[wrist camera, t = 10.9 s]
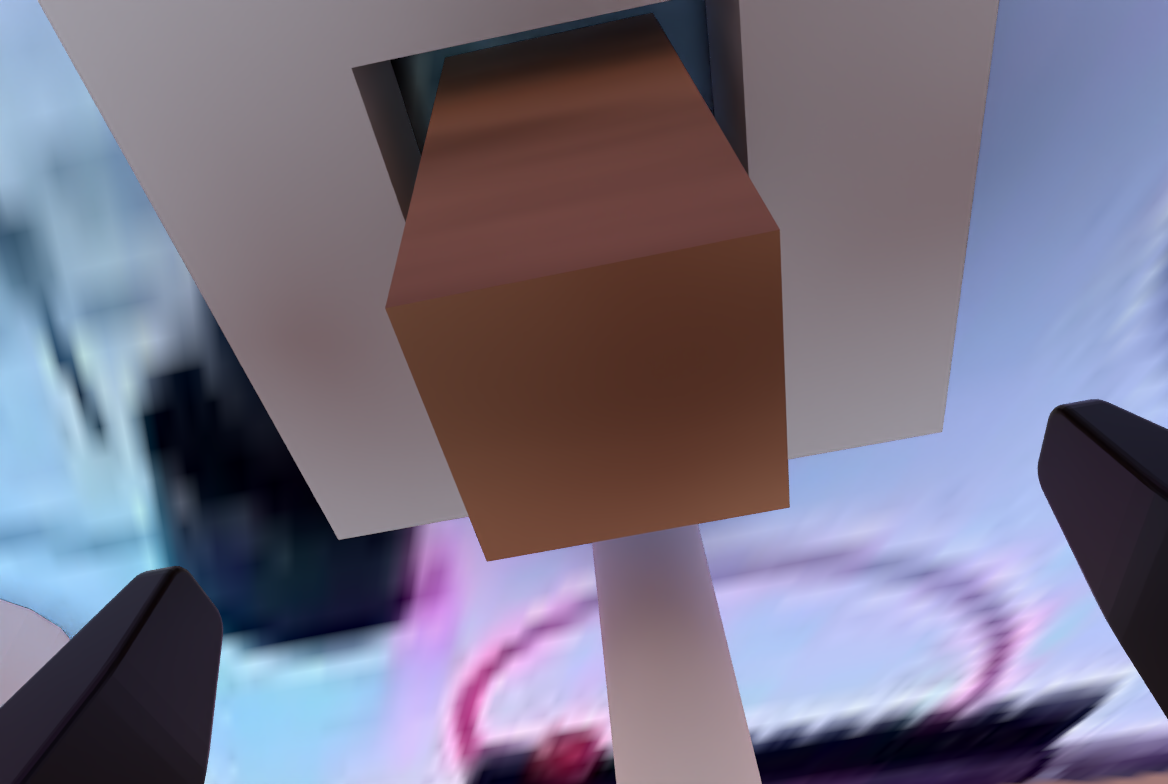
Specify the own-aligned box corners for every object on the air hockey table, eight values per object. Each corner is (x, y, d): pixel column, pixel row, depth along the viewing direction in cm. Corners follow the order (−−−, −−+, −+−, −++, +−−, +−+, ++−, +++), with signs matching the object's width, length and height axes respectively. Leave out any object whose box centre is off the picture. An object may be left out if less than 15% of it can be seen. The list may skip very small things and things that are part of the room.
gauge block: (948, -412, 12) (1632, -708, 5) (880, 503, 24) (1039, 817, 16) (42, -198, 12) (-592, -161, 5) (421, 583, 24) (383, 916, 17)
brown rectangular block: (676, 207, 17) (790, 507, 10) (497, 243, 18) (486, 561, 10) (652, 12, 15) (779, 229, 8) (445, 57, 15) (384, 308, 8)
